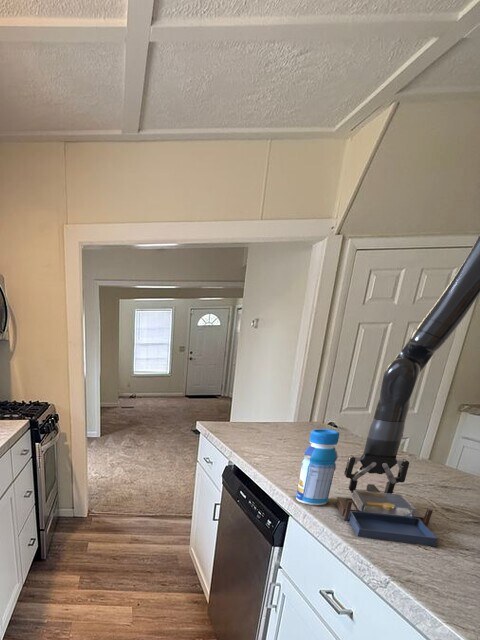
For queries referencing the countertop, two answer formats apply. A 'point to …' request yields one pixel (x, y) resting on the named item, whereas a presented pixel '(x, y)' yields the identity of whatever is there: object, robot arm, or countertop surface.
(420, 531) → the tray
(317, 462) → the beverage bottle
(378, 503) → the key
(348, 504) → the stand
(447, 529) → the countertop surface
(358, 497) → the grey dustpan
